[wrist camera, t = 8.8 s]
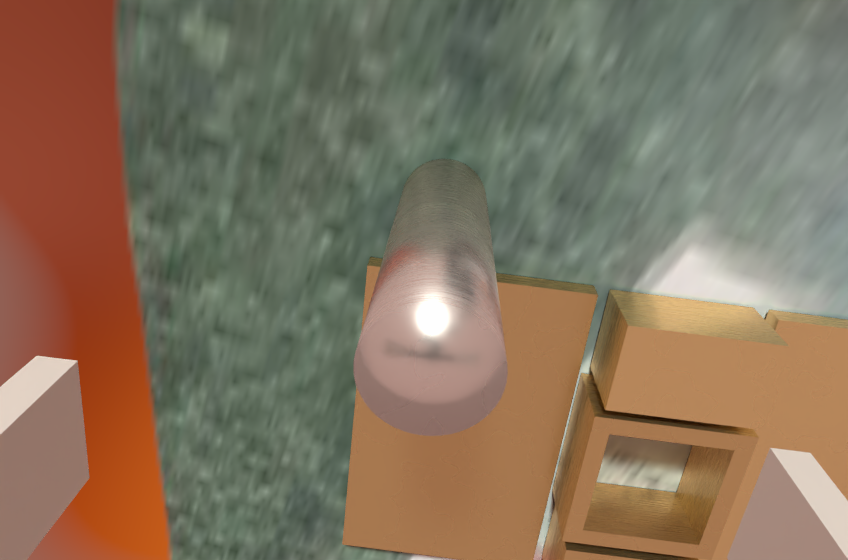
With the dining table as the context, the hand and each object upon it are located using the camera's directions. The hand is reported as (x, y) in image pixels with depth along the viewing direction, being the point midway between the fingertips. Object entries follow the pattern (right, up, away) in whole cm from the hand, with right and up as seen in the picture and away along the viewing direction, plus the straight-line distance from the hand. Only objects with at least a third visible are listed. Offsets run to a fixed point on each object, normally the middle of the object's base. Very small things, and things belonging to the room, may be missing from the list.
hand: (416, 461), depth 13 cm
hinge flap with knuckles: (+16, -5, +20) cm, 26 cm away
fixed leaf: (+5, -4, +20) cm, 21 cm away
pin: (+1, +7, +16) cm, 17 cm away
